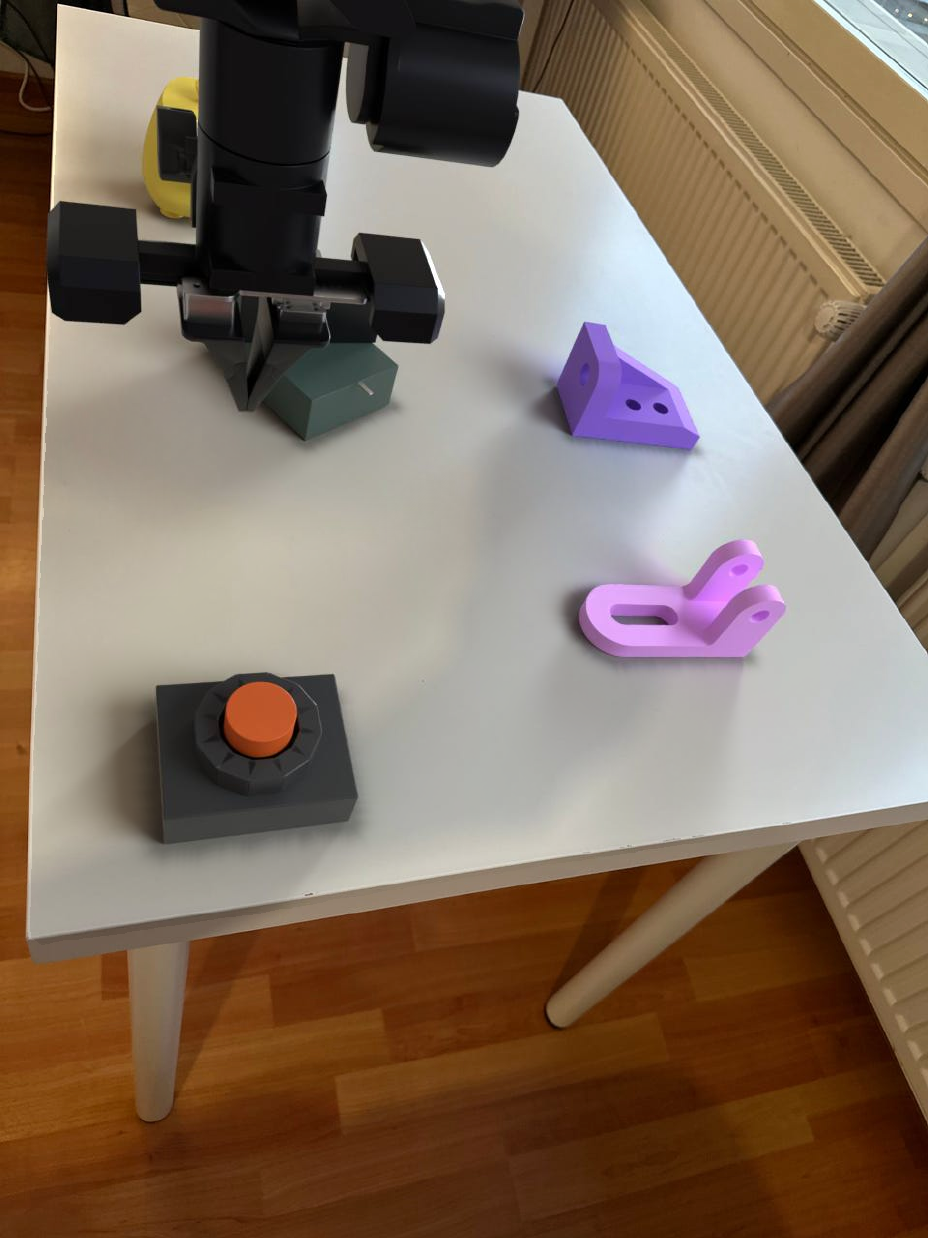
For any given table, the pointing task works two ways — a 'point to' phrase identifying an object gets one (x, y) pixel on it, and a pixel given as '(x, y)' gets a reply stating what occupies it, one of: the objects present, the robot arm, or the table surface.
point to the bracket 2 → (688, 611)
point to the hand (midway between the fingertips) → (244, 406)
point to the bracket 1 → (621, 396)
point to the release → (250, 762)
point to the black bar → (341, 319)
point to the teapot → (164, 193)
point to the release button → (259, 719)
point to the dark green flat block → (331, 387)
